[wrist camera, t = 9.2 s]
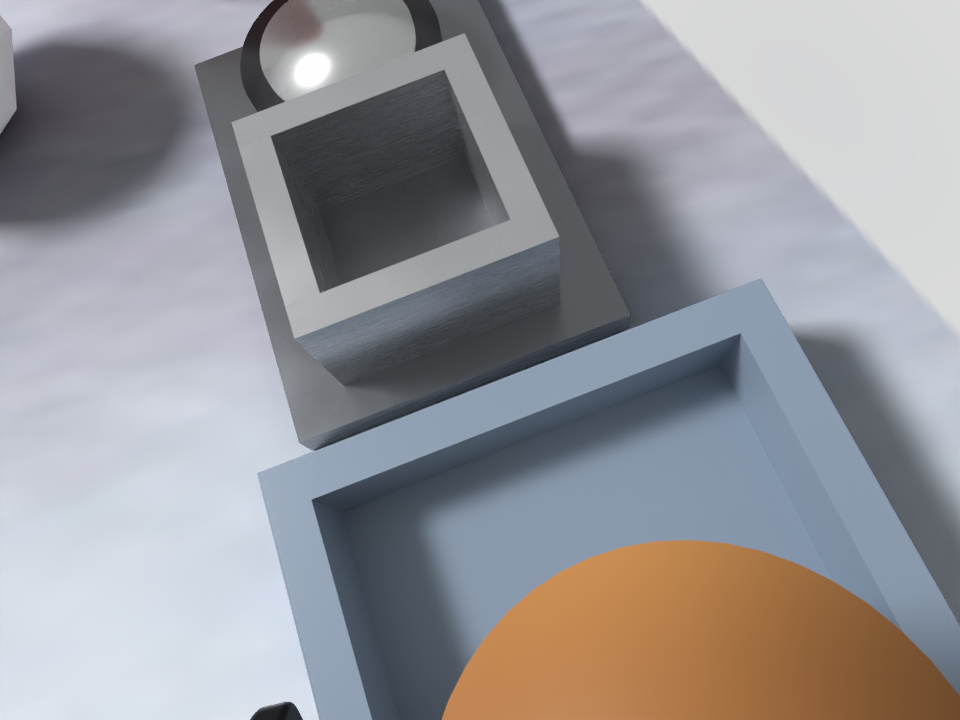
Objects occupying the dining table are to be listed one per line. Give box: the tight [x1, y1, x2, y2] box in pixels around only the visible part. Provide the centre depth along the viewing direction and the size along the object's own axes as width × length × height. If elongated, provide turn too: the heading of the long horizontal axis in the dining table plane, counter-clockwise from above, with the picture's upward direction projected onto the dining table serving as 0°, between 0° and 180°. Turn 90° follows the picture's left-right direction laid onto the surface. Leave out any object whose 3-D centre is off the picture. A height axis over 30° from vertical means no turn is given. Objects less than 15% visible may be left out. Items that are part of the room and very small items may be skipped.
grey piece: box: [194, 0, 631, 450], centre depth 19 cm, size 13×9×4 cm
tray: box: [257, 278, 960, 720], centre depth 15 cm, size 14×12×3 cm
